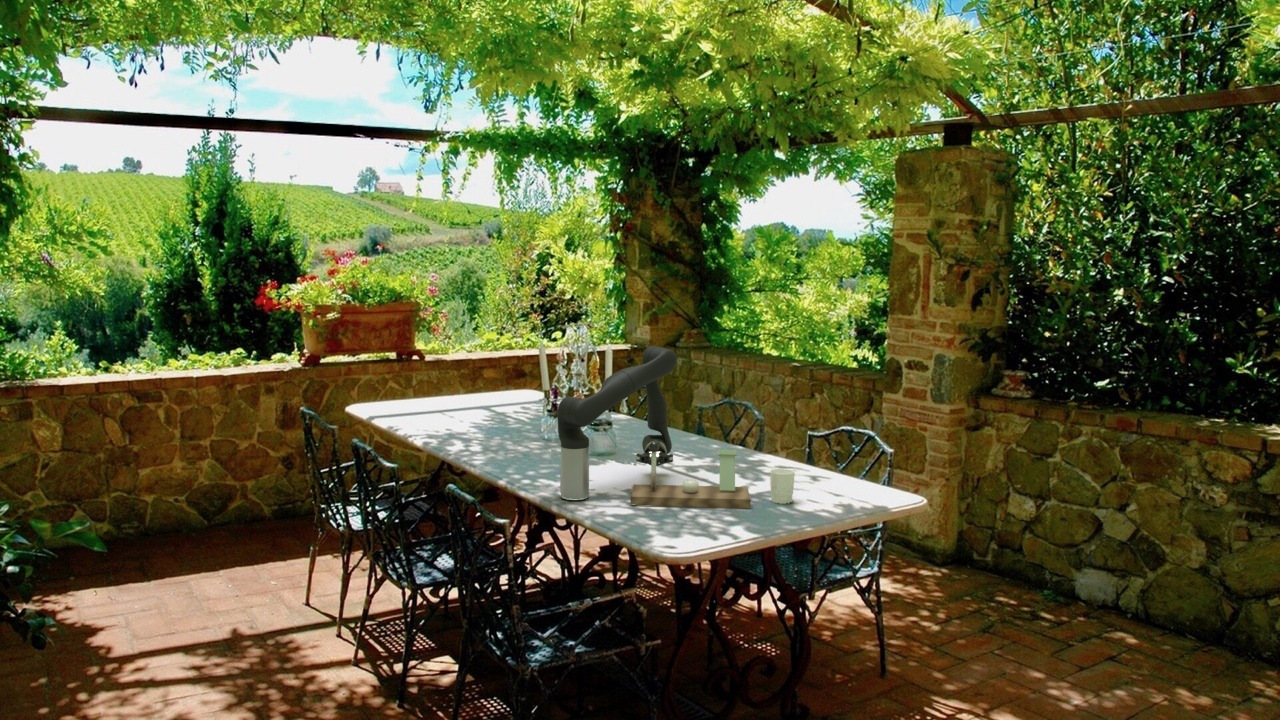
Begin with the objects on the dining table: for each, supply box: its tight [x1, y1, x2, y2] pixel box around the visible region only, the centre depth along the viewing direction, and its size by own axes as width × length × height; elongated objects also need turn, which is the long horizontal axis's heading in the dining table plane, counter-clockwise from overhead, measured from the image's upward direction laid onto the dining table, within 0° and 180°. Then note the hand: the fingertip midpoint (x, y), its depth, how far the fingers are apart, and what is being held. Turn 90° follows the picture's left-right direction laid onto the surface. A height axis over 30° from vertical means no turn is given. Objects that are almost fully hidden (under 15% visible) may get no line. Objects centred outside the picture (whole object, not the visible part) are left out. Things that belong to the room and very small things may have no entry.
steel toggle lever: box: [649, 442, 659, 490], centre depth 313 cm, size 3×3×16 cm
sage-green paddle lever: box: [717, 449, 738, 491], centre depth 316 cm, size 6×2×13 cm, turn 87°
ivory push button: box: [682, 479, 699, 493], centre depth 314 cm, size 5×5×3 cm
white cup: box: [769, 468, 796, 505], centre depth 314 cm, size 8×8×10 cm
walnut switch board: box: [630, 483, 751, 510], centre depth 314 cm, size 38×16×3 cm, turn 87°
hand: (653, 462), depth 314 cm, fingers closed
